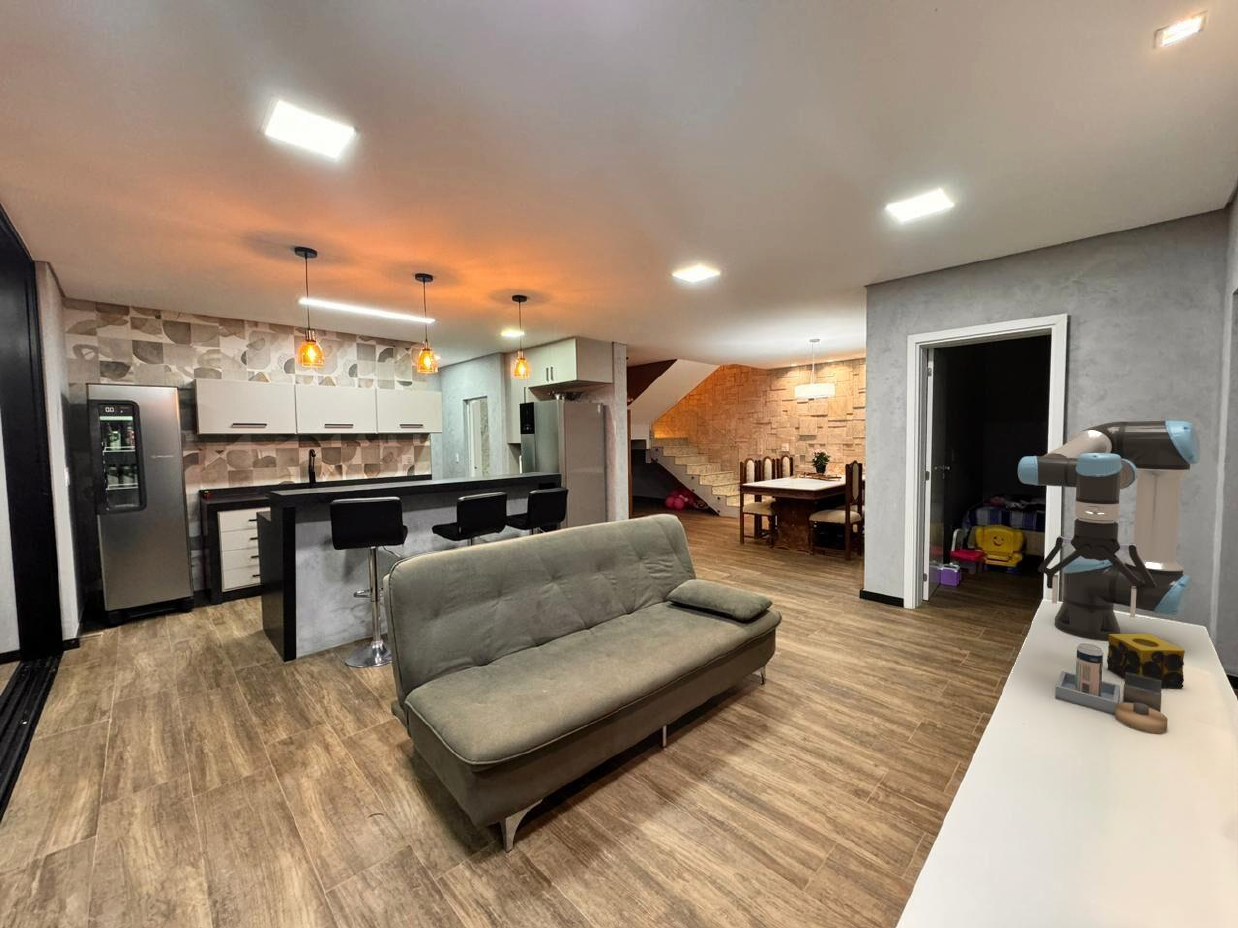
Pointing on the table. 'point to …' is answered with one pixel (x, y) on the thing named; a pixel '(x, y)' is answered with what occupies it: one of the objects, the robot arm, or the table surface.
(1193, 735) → the table surface
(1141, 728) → the disc
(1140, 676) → the bracket
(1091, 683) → the beer can
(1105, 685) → the tray
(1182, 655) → the yellow holed block
